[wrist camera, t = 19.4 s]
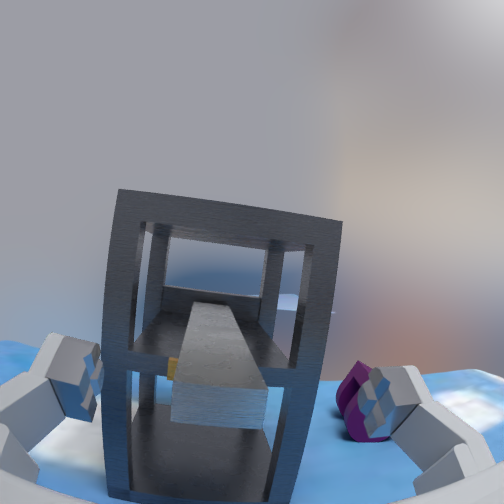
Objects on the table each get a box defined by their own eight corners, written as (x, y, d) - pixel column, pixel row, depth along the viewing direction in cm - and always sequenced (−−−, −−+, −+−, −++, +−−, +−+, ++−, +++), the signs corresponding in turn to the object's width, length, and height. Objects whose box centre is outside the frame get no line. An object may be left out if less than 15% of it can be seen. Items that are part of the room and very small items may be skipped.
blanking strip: (170, 421, 12) (172, 380, 12) (191, 318, 36) (193, 301, 36) (262, 429, 13) (268, 389, 13) (226, 323, 37) (229, 305, 37)
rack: (107, 500, 19) (116, 187, 20) (141, 410, 39) (157, 219, 40) (288, 515, 22) (345, 220, 22) (255, 422, 41) (282, 236, 42)
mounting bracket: (404, 443, 44) (325, 402, 46) (434, 405, 44) (357, 360, 46) (423, 470, 35) (335, 430, 37) (458, 427, 35) (374, 380, 37)
